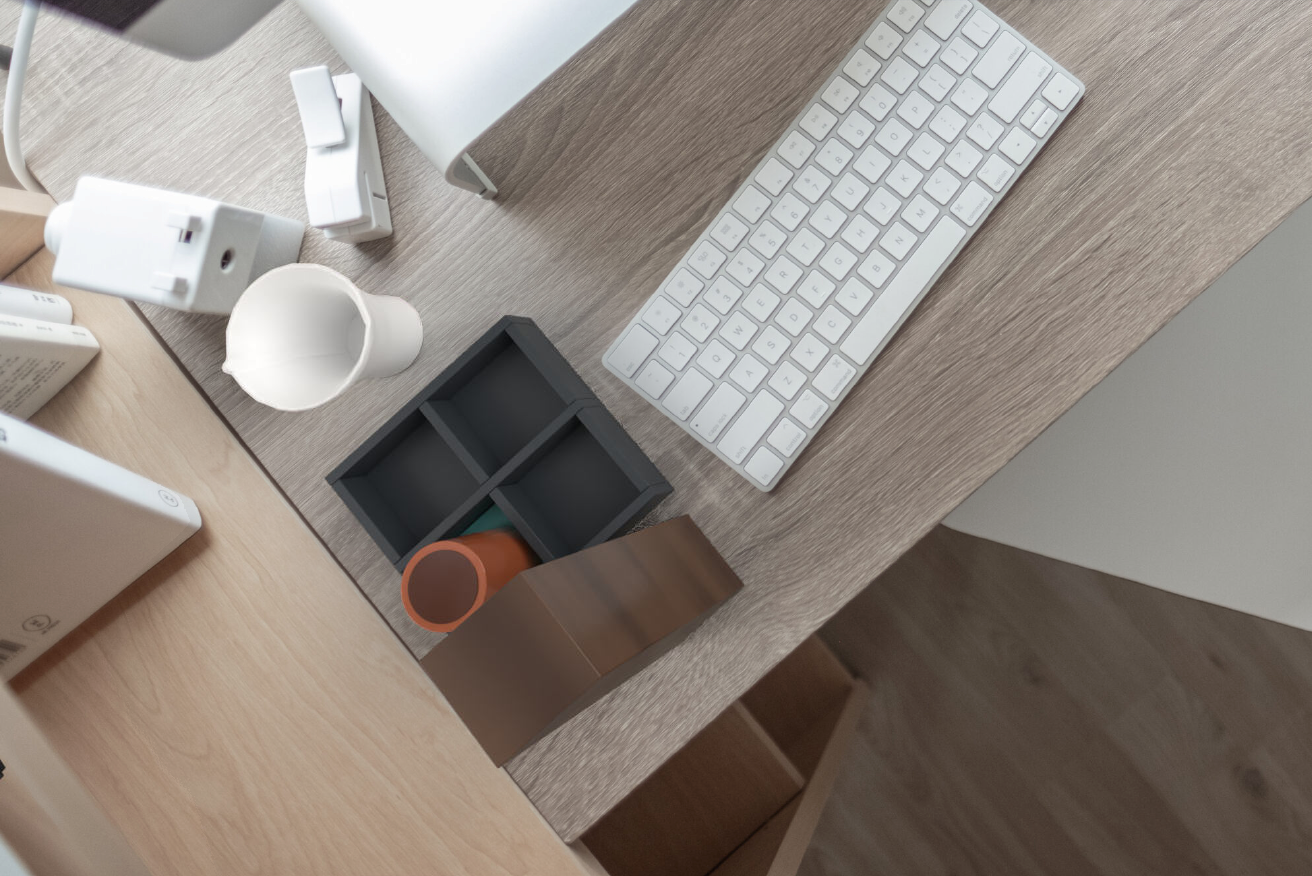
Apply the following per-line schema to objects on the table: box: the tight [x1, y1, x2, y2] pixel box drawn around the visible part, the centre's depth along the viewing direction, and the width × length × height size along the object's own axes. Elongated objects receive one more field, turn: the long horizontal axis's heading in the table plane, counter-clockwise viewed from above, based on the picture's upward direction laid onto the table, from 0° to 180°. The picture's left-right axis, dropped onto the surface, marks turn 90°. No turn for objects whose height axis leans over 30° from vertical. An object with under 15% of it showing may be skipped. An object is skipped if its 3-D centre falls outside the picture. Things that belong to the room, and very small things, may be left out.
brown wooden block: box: [418, 513, 745, 769], centre depth 64 cm, size 6×6×24 cm
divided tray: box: [324, 314, 675, 635], centre depth 76 cm, size 15×15×4 cm
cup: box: [221, 262, 424, 413], centre depth 74 cm, size 9×9×10 cm
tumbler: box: [400, 526, 542, 634], centre depth 72 cm, size 5×5×8 cm
